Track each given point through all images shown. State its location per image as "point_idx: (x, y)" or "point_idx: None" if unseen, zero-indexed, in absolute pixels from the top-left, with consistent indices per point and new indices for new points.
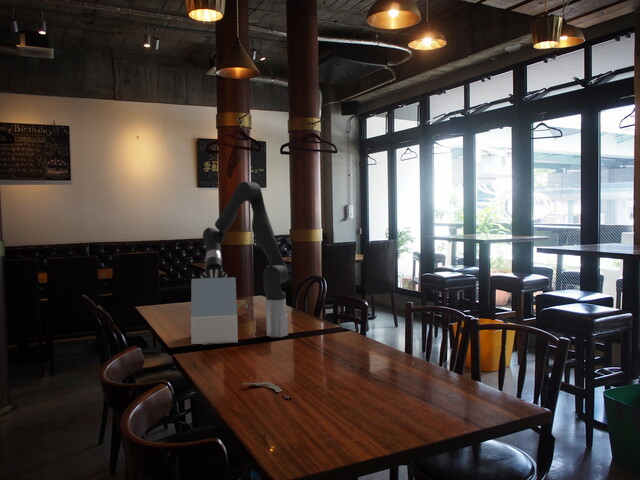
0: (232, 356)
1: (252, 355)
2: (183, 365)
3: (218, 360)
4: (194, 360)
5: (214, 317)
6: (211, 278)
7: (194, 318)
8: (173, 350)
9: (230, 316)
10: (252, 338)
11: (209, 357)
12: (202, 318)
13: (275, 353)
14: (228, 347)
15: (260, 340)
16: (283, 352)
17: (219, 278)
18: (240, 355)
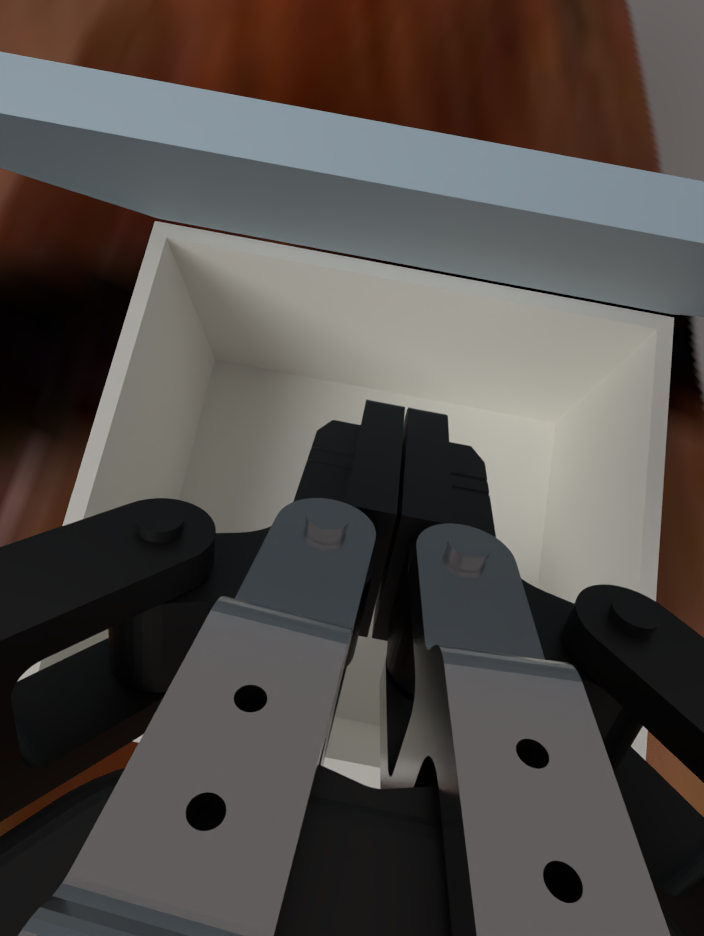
0: (336, 50)
1: (217, 23)
2: (628, 5)
3: (431, 12)
4: (564, 64)
5: (410, 272)
6: (571, 162)
7: (630, 313)
8: (692, 328)
9: (233, 238)
10: (58, 428)
11: (472, 84)
12: (541, 299)
13: (72, 6)
14: (311, 248)
15: (25, 339)
16: (18, 5)
17: (253, 102)
18: (285, 50)
